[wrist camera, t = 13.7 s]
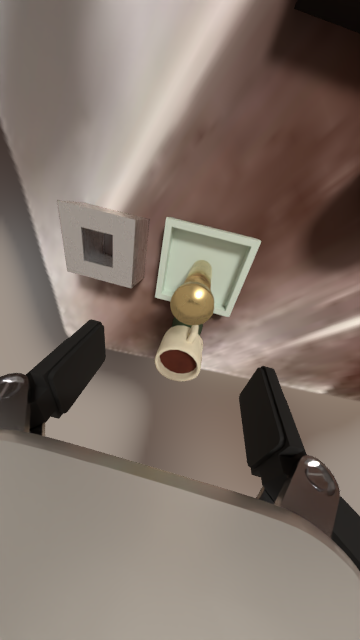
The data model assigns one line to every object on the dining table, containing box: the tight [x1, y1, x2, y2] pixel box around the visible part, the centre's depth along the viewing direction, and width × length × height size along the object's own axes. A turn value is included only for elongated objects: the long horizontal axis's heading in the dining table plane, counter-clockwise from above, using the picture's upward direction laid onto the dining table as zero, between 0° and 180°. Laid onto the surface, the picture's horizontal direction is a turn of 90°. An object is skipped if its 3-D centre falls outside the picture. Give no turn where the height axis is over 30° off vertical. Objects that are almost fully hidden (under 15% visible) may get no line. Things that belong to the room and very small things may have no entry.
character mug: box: [154, 317, 203, 382], centre depth 32 cm, size 11×7×13 cm, turn 154°
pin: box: [170, 260, 214, 325], centre depth 24 cm, size 5×5×14 cm
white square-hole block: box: [57, 200, 150, 288], centre depth 29 cm, size 10×11×6 cm
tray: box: [155, 217, 261, 317], centre depth 30 cm, size 13×14×3 cm
